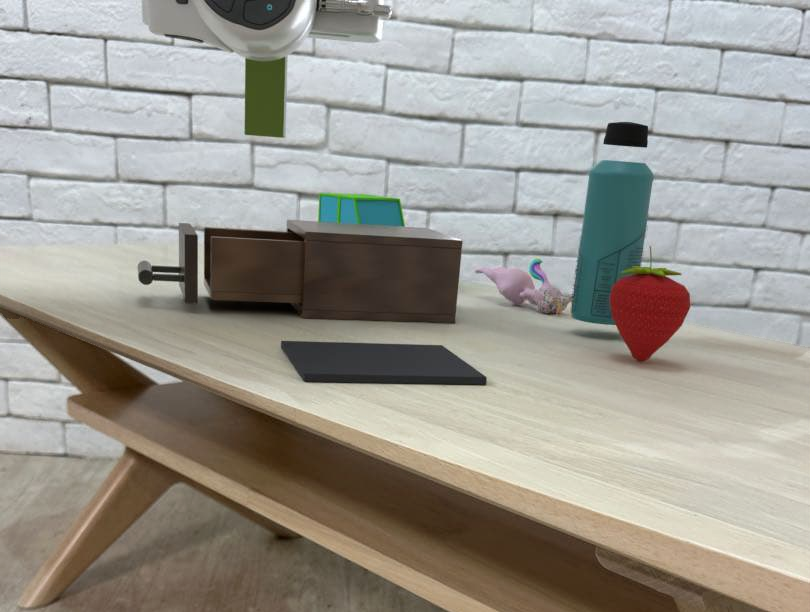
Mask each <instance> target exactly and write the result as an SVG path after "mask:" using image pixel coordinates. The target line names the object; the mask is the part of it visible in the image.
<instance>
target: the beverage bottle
mask: <svg viewBox="0 0 810 612" xmlns="http://www.w3.org/2000/svg"><path fill="white" fill-rule="evenodd" d="M648 138H649V125H646V124H642V123H638V122H633V121H616V122H609V123H607V125H606V129H605V135H604V138H603V143H602V144H603V145H607V146H617V147H630V148H632V147H633V148H642V149H643V148H645V149H646V148H647V149H648V144H649V143H648V142H649V141H648ZM654 180H655V175H654V172H653V171H652V170H651V168H650V167H649V166H648V165H647V164H646V162H637V161H635V162H634V161H623V160H611V159H600V160H599V161H598V162H597V163H596V164H595V165H593V166H592V167H591V168H590V169H589V170H588V181H587V189H586V196H585V204H584V210H583V219H582V227H581V235H580V237H579V238H578V241H577V243H579V245H578V248H577V251H578V254H577V259H576V261H575V262H576V267H575V270H574V277H573V279H574V282H573V283H574V284H572V286H573V287H572V293H571V297H572V299H573V300H572V299H571V300H572V303H571V302H570V308H569V310H570V313H571V318H572V319H573V320H576V321H579V322H584V323H590V324H595V325H596V324H597V325H604V326H616V324H615V322H614V320H613V318H612V315H611V307H610V299H609V296H610V293H611V290H612V288H613V285H614V284H615V283H616V282H617V281H618V280H619V279H620V278H623V277H627V276H631V275H635V274H625V273H621V272H622V271H626V269H633V268H632V267H633V266H641V267H643V253H644V247H645V239H646V236H647V234H648V233H646V232H649V231H648V225H647V224H648V221H649V216H650V214H649V209H650V202H651V197H652V196H651V195H652V190H653V183H654Z"/></svg>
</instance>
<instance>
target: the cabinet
mask: <svg viewBox="0 0 810 612" xmlns="http://www.w3.org/2000/svg"><path fill="white" fill-rule="evenodd" d="M285 232H295V233H296V234H298V235H299V236H301V237H302V238H304V239H305V240H304V264H303V291H302V303H289V304H290V305H291V306H292V308H293V309H294V310H295V311H296V312H297V313H298V314H299V316H300V317H301V318H302V319H319V320H320V319H325V320H353V321H354V320H355V321H380V322H381V321H382V322H406V323H407V322H411V323H416V322H417V323H438V324H442V323H443V324H455V323H456V316H457V307H458V306H457V304H458V295H459V283H460V273H461V272H460V271H461V263H462V252H463V242H464V241H463V240H462V239H459V238H456V237H454V236H451V235H448V234H445V233H443V232H440V231H437V230H435V229H431V228H429V227H416V226H415V227H414V226H405V227H402V226H385V225H368V224H351V223H335V222H318V220H317V221H315V220H302V219H301V220H300V219H286V231H285Z"/></svg>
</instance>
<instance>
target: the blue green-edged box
mask: <svg viewBox="0 0 810 612" xmlns="http://www.w3.org/2000/svg"><path fill="white" fill-rule="evenodd" d="M317 221H318V222H335V223H351V224H368V225H385V226H402V227H406V224H405V219H404V213H403V208H402V202H401V198H400V197H399V198H398V197H391V196H390V197H389V196H383V195H376V194H375V195H374V194H366V193H336V192H335V193H334V192H333V193H332V192H319V193H318V216H317Z"/></svg>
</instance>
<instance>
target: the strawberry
mask: <svg viewBox="0 0 810 612" xmlns="http://www.w3.org/2000/svg"><path fill="white" fill-rule="evenodd" d="M652 256H653V255H652V246H651V245H649V257H650V259H649V261H650V263H649V266H633V267H632V268H633V269H626V271H622V272H621V273H625V274H635V275H631V276H627V277H623V278H620V279H619V280H618V281H617V282H616V283H615V284H614V285H613V288H612V290H611V293H610V296H609V299H610V307H611V315H612V318H613V320H614V322H615V324H616V325H615V326H616V329H617V331H618V333H619V335H620V337H621V338H622V340H623V342H624V343H625V345H626V346H627V348H628V350H629V352H630V354H631V356H632V358H633V359H634V360H635V361H637V362H645V361H648V360H649V359H651V357H652V356H653V355H654V354H655V353H656V352H657V351H659V349H661V348H662V347H663V346H664V345H665V344H666V343H667V342H668V341H669V340H670V339H671V338H672V337H673V336H674V335H675V334H676V333H677V332H678V331H679V329H681V327H682V326H683V324H684V322H685V320H686V318H687V315H688V313H689V311H690V309H691V294H690V292H689V290H688V289H687V288H686V286H685V285H684V284H681V283H680V282H679V281H676V280H674V279H672V278H670V277H668V276H682V273H681V272H678V271H675V270H671V269H667V267H653V268H652V264H653V263H652V262H653V257H652Z"/></svg>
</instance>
